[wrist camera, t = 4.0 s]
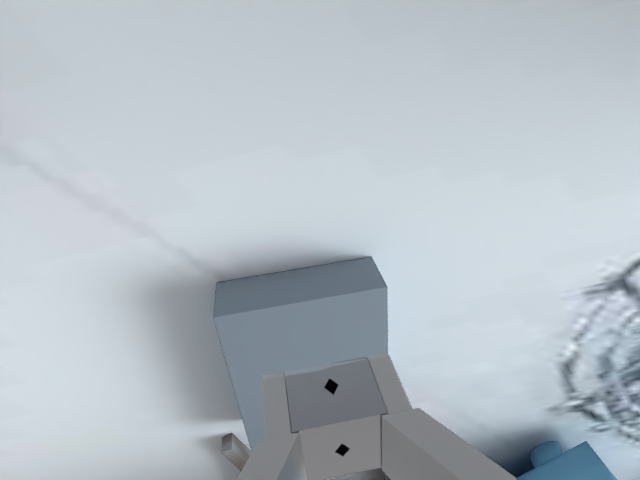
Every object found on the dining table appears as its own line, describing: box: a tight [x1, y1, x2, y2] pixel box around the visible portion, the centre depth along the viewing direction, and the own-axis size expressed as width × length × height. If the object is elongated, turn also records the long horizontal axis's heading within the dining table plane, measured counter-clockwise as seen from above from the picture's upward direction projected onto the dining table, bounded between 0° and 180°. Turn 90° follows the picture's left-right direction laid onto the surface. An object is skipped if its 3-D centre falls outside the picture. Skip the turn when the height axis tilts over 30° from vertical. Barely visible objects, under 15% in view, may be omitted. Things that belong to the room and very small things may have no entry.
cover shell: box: [213, 257, 388, 452], centre depth 25 cm, size 12×9×3 cm
